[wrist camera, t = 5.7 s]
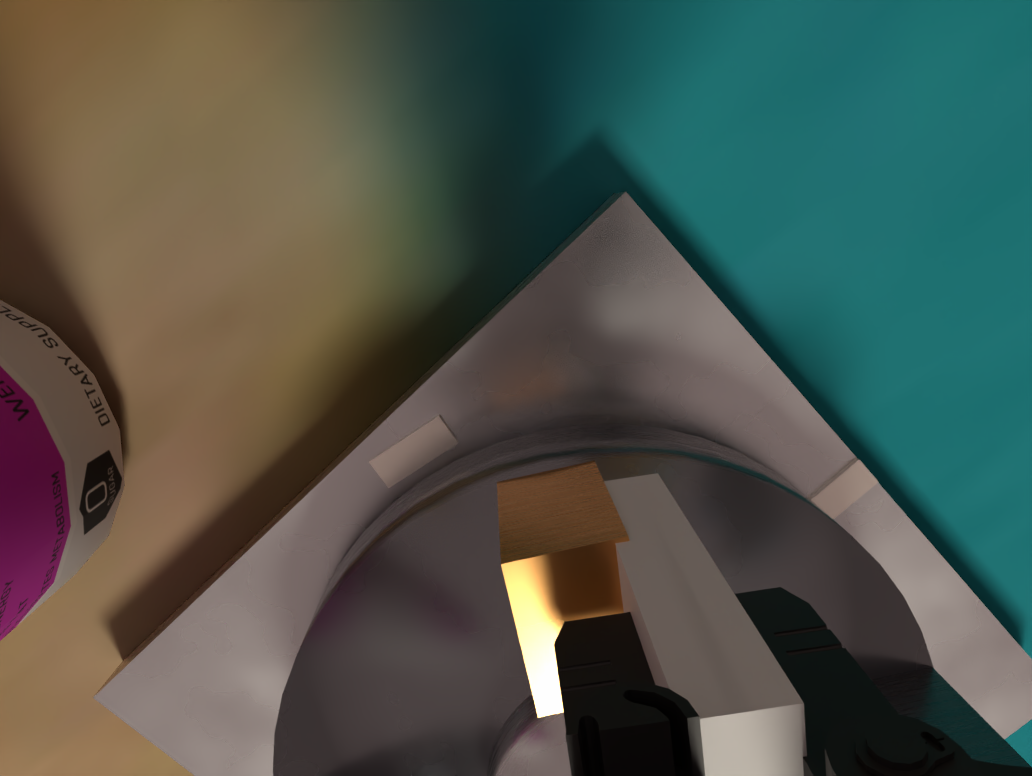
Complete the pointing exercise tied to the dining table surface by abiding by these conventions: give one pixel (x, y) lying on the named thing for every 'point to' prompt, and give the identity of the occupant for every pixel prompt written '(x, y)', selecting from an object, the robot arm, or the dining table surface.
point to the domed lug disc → (561, 604)
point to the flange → (519, 411)
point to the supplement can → (50, 465)
